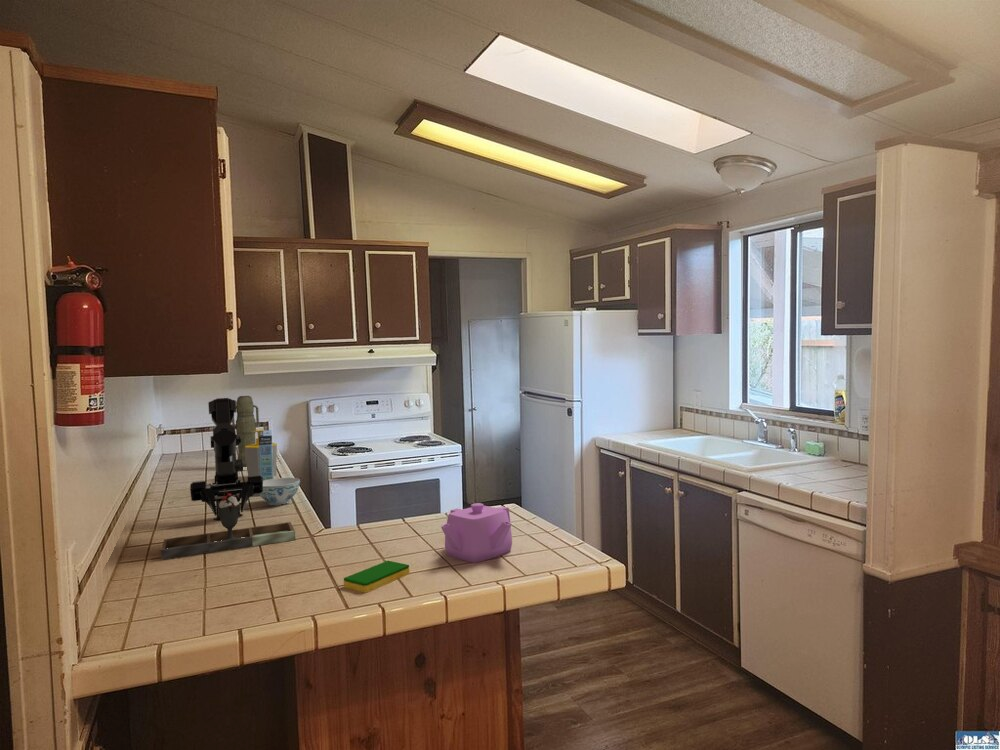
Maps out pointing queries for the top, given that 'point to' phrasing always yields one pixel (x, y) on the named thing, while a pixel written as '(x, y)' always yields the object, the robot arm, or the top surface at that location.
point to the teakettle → (478, 533)
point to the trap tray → (207, 544)
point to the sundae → (229, 512)
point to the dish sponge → (376, 576)
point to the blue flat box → (266, 455)
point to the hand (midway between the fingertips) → (228, 513)
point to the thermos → (245, 424)
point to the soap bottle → (257, 457)
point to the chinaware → (279, 490)
